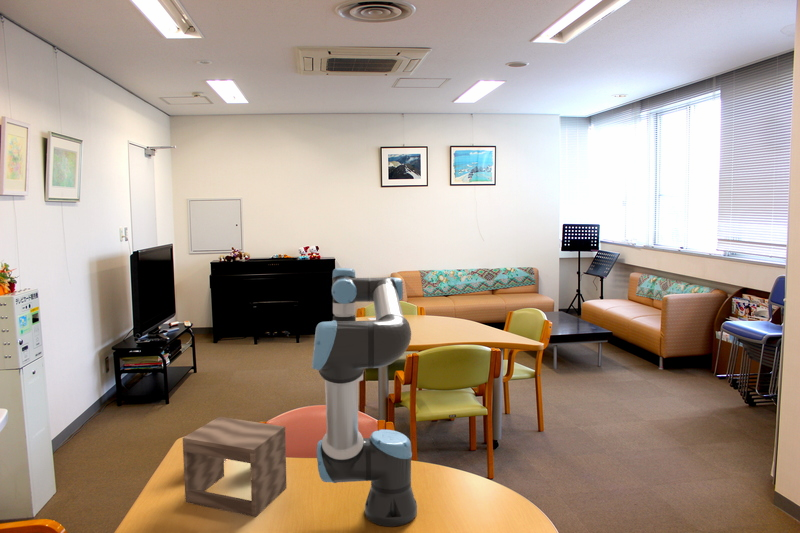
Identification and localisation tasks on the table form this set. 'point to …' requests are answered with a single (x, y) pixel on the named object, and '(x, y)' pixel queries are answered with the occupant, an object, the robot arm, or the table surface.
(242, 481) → the table surface
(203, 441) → the walnut cubby
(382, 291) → the robot arm
